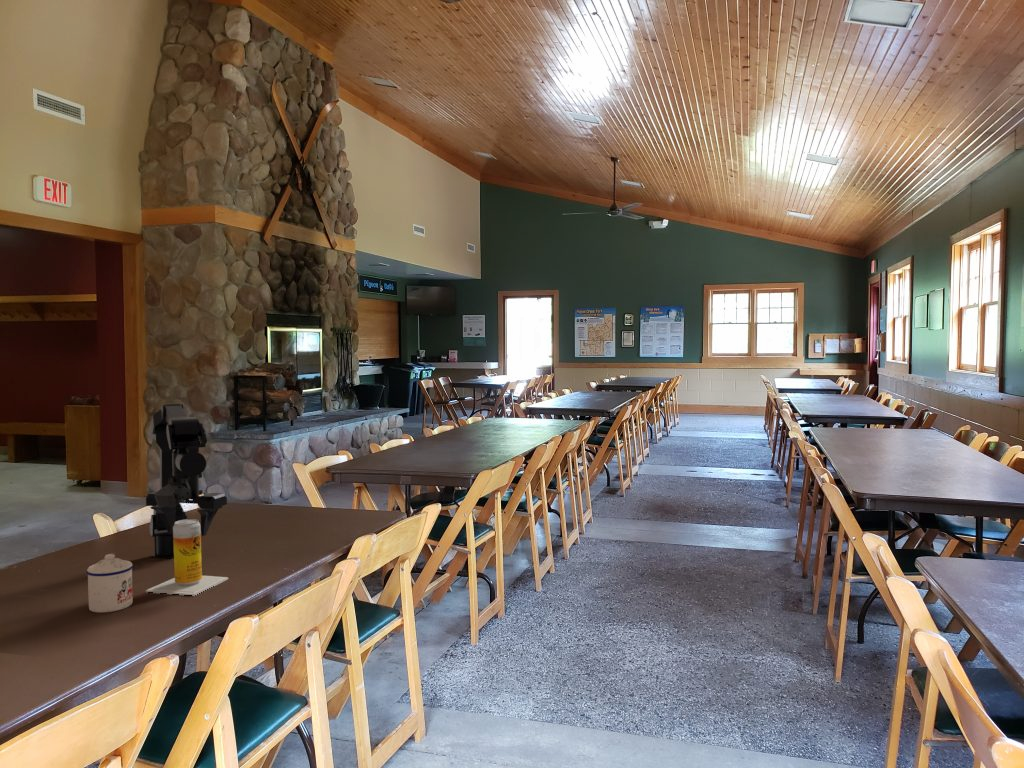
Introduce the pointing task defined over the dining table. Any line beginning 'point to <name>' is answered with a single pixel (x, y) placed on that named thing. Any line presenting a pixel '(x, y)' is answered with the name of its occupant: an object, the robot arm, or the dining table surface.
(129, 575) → the teacup with lid
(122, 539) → the dining table surface
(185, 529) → the beer can
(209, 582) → the coaster
